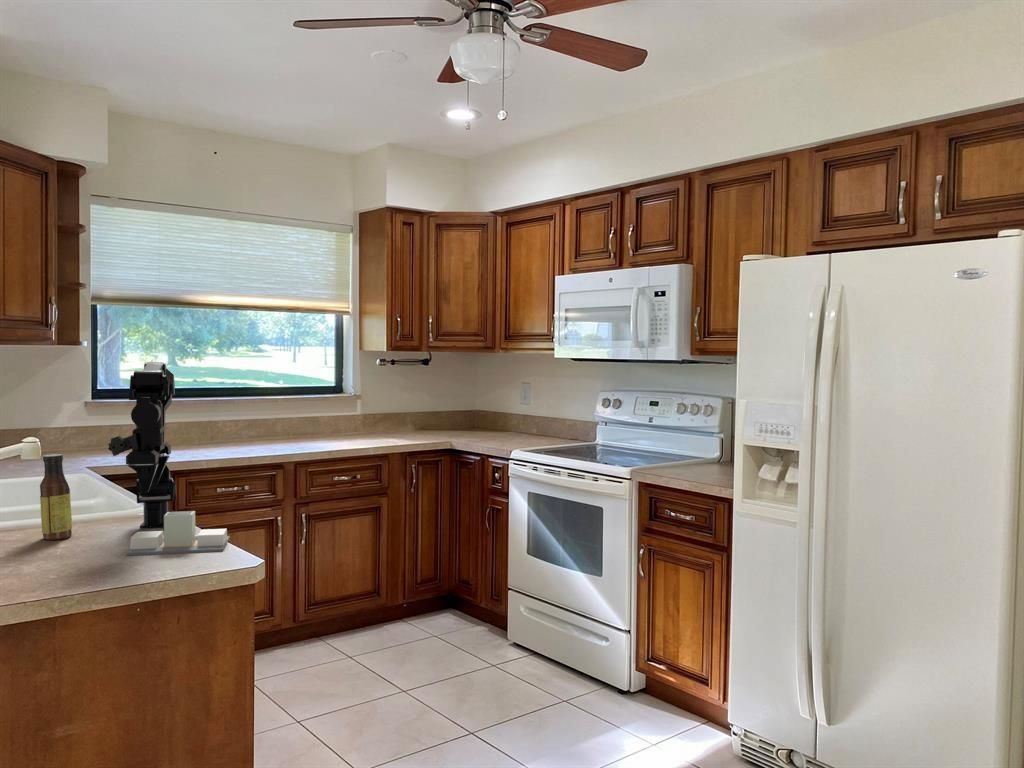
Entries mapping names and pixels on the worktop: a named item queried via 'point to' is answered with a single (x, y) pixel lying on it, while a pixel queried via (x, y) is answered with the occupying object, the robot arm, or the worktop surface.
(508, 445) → the worktop surface
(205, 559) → the worktop surface
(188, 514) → the block
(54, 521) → the sauce bottle
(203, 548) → the rail board
